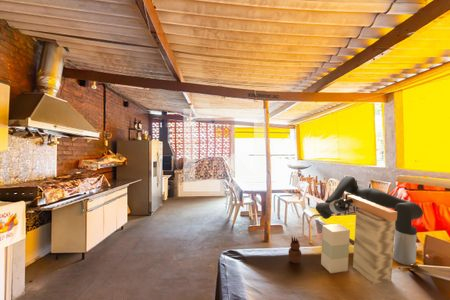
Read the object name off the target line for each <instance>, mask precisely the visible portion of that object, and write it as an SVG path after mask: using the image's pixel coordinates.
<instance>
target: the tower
mask: <svg viewBox="0 0 450 300" xmlns="http://www.w3.org/2000/svg"><path fill="white" fill-rule="evenodd" d="M321 231H322V232H321V253H320V255H321V257H320V264H321V265H322V267H324V268H325V269H326V270H327V272H329V273H330V274H335V273H341V272H348V271H349V257H350V256H349V252H350V235H351V229H349V228H347V227H345V226H343V225H342V224H340V223H332V224H331V223H330V224H323V225H322V230H321Z"/></svg>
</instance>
